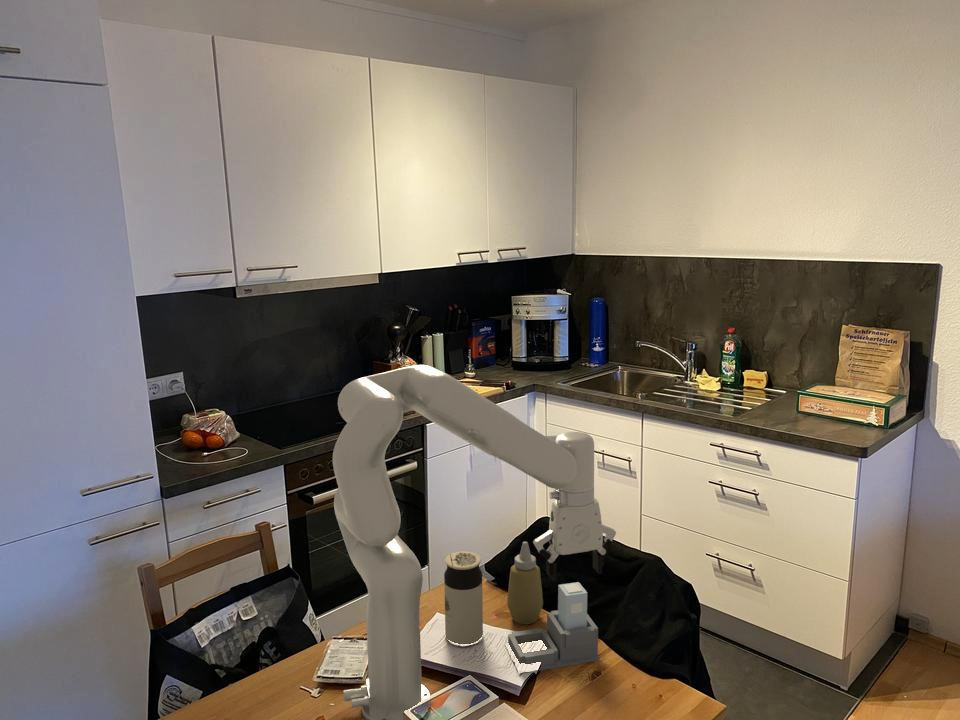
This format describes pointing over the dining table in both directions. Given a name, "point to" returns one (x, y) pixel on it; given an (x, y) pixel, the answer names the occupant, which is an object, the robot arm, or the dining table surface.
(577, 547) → the robot arm
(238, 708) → the dining table surface
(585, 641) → the block
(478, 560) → the travel mug
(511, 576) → the squeeze bottle
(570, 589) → the plug
